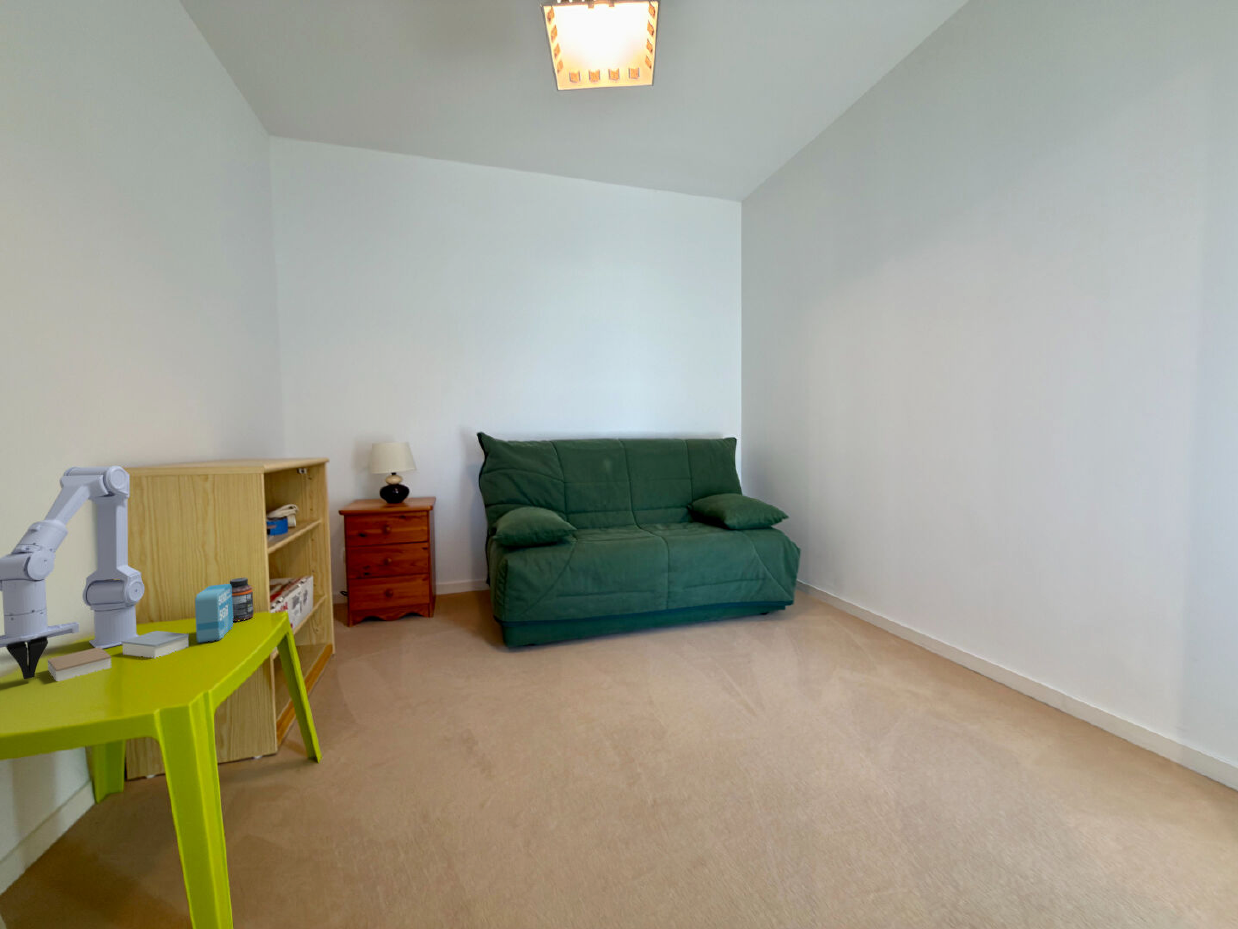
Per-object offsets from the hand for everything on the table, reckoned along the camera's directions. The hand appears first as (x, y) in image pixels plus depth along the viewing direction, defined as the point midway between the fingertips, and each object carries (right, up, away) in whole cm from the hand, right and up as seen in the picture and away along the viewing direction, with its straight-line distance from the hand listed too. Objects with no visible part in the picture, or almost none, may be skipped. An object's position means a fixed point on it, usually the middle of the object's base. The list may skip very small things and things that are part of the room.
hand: (28, 677), depth 104 cm
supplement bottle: (+15, 0, +38) cm, 41 cm away
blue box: (+18, 0, +25) cm, 31 cm away
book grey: (+11, -1, +16) cm, 20 cm away
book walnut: (+4, -1, +6) cm, 7 cm away
